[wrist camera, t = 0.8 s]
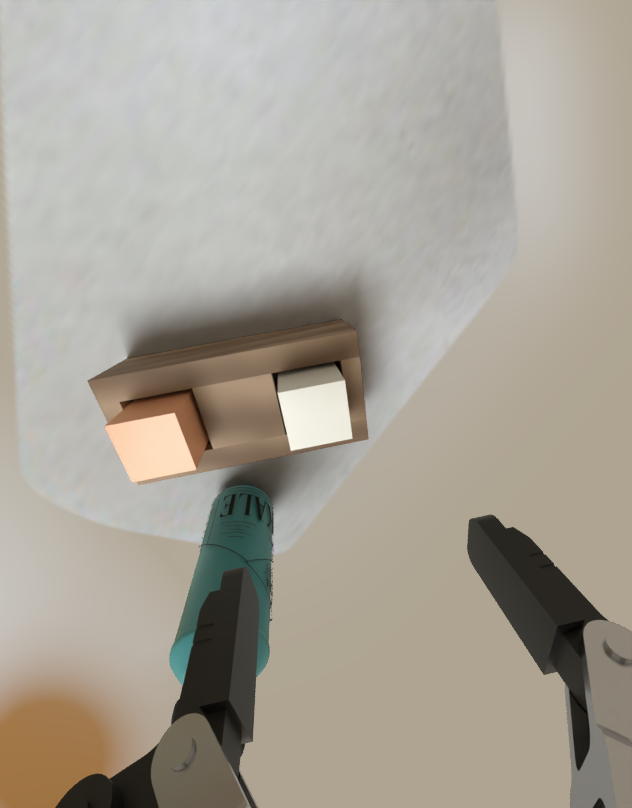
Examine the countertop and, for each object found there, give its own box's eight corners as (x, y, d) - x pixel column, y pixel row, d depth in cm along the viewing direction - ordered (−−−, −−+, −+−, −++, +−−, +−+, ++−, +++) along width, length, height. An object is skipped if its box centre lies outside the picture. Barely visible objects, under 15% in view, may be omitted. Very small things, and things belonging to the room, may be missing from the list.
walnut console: (126, 358, 27) (87, 381, 21) (341, 319, 28) (356, 330, 22) (163, 446, 30) (138, 485, 25) (352, 409, 31) (368, 439, 26)
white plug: (277, 370, 24) (277, 393, 20) (332, 360, 25) (345, 380, 20) (288, 419, 26) (290, 450, 22) (339, 409, 26) (352, 438, 22)
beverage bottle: (226, 527, 35) (169, 803, 17) (204, 481, 32) (109, 750, 14) (281, 512, 35) (285, 772, 17) (264, 465, 33) (247, 713, 14)
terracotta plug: (137, 396, 24) (104, 426, 19) (194, 386, 24) (174, 412, 20) (158, 445, 26) (132, 482, 21) (210, 434, 26) (196, 469, 21)
